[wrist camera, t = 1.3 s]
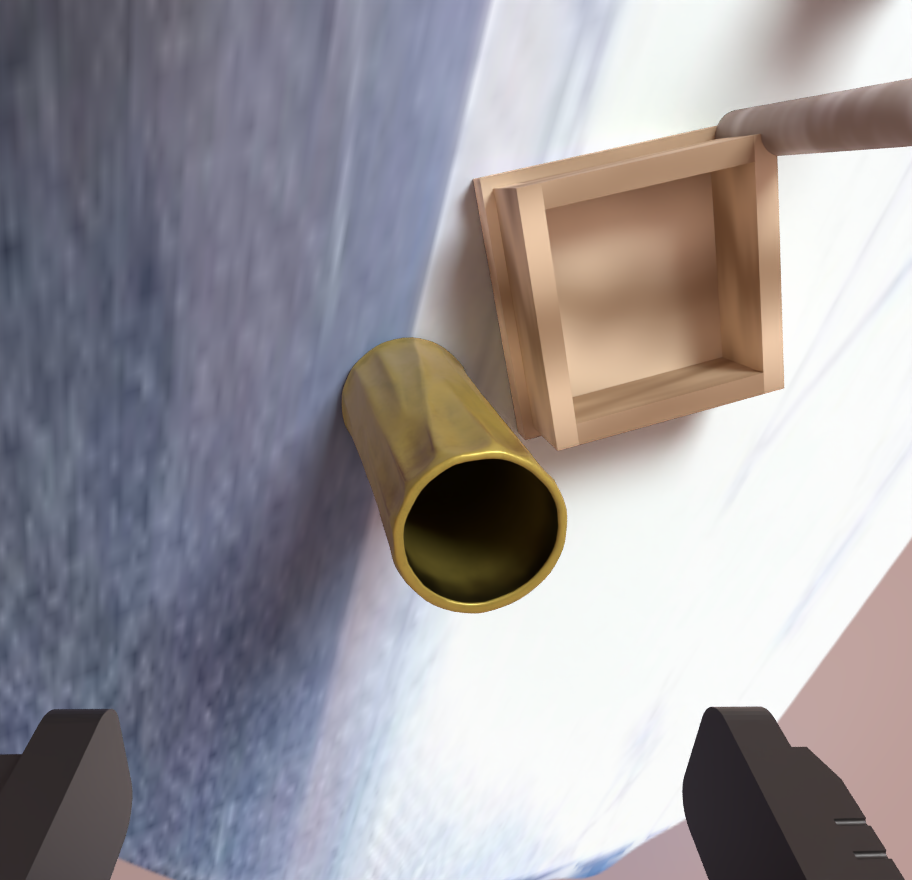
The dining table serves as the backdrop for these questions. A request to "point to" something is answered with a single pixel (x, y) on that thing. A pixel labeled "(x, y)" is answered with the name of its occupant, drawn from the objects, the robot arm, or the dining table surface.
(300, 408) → the dining table surface
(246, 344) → the dining table surface
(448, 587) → the vase
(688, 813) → the robot arm
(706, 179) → the stand
